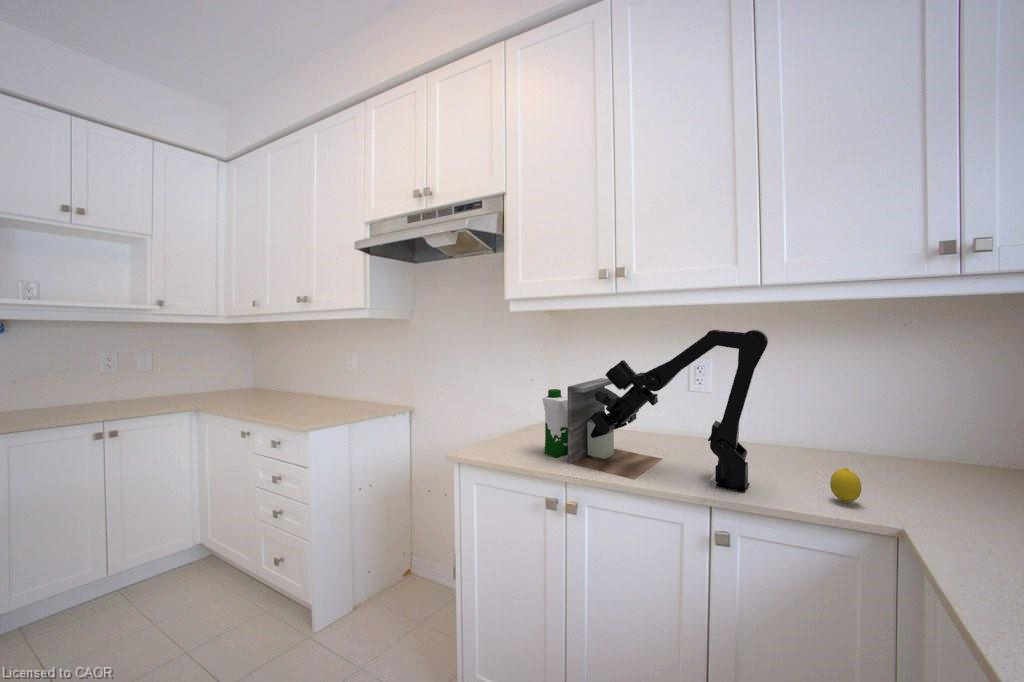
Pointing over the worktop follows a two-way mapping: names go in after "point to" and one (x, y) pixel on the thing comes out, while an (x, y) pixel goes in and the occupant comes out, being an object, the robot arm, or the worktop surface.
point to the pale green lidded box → (600, 443)
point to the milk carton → (556, 423)
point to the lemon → (845, 485)
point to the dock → (578, 416)
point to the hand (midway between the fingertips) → (596, 434)
